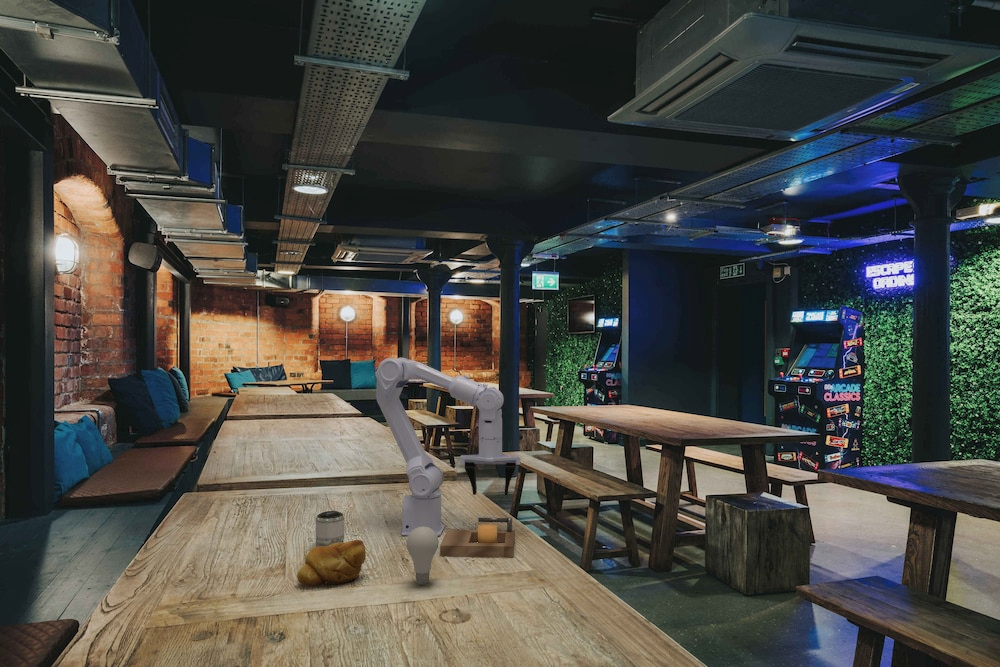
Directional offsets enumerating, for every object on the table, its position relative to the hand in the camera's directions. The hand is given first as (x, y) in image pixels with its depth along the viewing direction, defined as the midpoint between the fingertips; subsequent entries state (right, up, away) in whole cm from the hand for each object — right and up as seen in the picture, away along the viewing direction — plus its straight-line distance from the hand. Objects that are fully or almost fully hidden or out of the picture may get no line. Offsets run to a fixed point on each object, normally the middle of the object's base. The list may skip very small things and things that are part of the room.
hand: (490, 494), depth 150 cm
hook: (+1, -10, -5) cm, 11 cm away
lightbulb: (-13, -9, -32) cm, 35 cm away
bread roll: (-31, -10, -29) cm, 43 cm away
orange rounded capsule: (-1, -10, -11) cm, 14 cm away
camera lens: (-37, -10, -9) cm, 39 cm away
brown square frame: (-3, -10, -10) cm, 14 cm away
